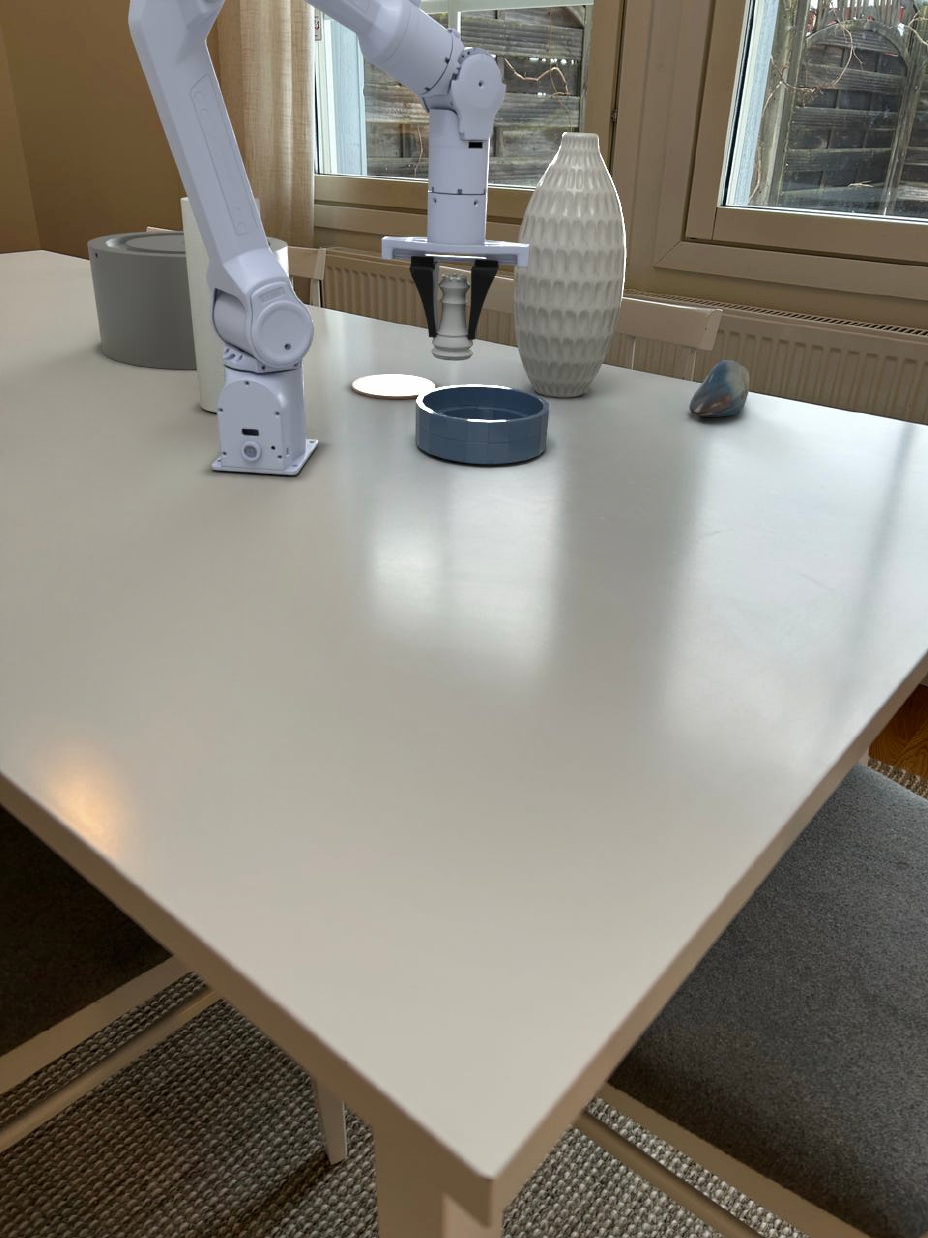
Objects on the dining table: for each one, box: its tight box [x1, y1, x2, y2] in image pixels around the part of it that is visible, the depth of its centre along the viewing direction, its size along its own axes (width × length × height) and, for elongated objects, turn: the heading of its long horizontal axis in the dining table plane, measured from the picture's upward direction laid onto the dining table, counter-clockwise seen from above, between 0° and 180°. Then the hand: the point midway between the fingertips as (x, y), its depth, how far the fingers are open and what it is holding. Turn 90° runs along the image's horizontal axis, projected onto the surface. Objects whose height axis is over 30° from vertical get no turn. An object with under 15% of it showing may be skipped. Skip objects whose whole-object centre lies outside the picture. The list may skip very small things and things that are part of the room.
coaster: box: [351, 373, 436, 400], centre depth 115 cm, size 10×10×1 cm
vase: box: [512, 131, 627, 399], centre depth 110 cm, size 13×13×28 cm
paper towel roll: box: [180, 196, 261, 413], centre depth 100 cm, size 7×6×21 cm
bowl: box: [414, 384, 550, 466], centre depth 96 cm, size 13×13×4 cm
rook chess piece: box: [430, 273, 474, 362], centre depth 97 cm, size 4×4×8 cm
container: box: [86, 230, 290, 370], centre depth 126 cm, size 25×25×13 cm
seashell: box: [688, 359, 751, 418], centre depth 109 cm, size 6×9×10 cm
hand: (453, 336), depth 98 cm, fingers closed on rook chess piece, 3 cm apart
